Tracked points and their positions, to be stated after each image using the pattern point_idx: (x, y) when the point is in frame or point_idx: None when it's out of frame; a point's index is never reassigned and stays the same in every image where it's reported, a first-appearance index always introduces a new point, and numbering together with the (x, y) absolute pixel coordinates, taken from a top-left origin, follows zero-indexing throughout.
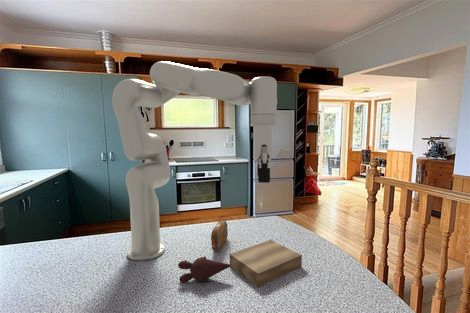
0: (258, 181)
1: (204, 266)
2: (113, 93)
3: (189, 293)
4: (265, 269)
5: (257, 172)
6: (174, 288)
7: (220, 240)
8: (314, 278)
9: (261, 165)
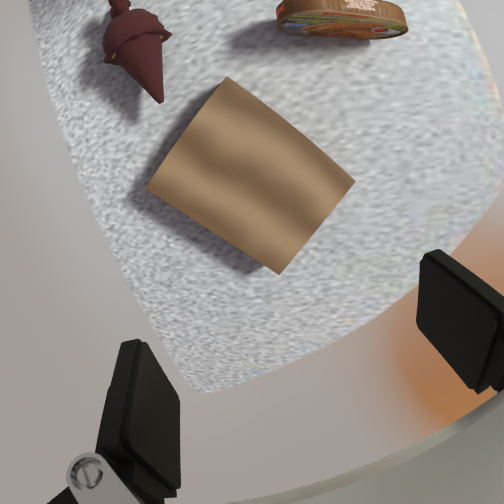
0: (123, 343)
1: (108, 52)
2: None
3: (83, 49)
4: (171, 201)
5: (452, 263)
6: (92, 12)
7: (321, 24)
8: (232, 289)
9: (63, 493)
